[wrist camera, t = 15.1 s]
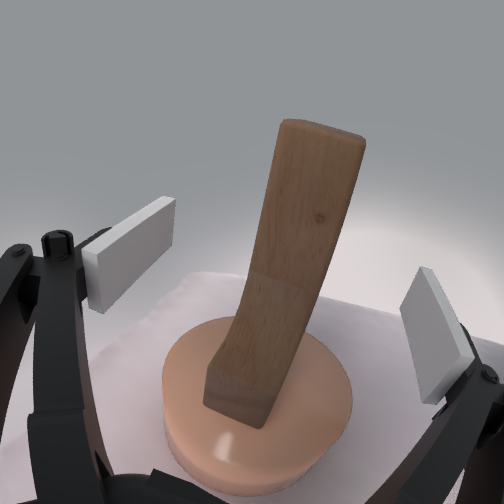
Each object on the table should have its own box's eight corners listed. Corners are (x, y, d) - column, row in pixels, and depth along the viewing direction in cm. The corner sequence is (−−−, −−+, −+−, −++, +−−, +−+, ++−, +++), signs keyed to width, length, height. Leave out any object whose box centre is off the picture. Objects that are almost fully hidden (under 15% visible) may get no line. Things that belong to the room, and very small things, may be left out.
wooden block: (260, 432, 18) (366, 146, 10) (199, 406, 19) (245, 114, 11) (296, 351, 26) (367, 137, 17) (248, 332, 27) (299, 118, 18)
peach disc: (323, 387, 32) (350, 338, 28) (310, 509, 19) (350, 482, 15) (195, 353, 33) (201, 298, 30) (139, 463, 20) (127, 422, 16)
